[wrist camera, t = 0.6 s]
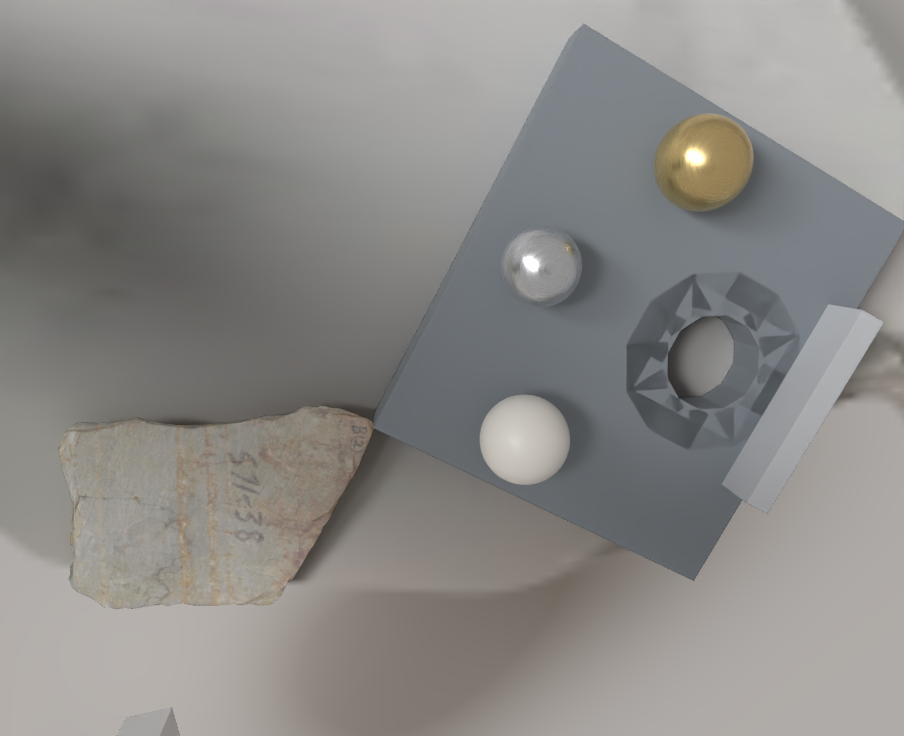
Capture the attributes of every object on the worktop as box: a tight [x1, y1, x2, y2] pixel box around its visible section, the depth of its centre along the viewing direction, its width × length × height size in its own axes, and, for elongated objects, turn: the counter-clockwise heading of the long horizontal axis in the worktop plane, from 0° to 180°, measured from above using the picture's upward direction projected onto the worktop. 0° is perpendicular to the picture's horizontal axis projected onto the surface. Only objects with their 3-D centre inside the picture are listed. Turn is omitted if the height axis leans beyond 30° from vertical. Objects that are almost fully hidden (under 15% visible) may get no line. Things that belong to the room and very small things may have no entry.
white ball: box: [480, 394, 570, 485], centre depth 32 cm, size 4×4×4 cm
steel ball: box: [500, 225, 582, 308], centre depth 31 cm, size 4×4×4 cm
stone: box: [59, 406, 374, 609], centre depth 35 cm, size 15×11×3 cm
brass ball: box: [654, 113, 754, 212], centre depth 31 cm, size 4×4×4 cm
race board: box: [373, 24, 904, 581], centre depth 34 cm, size 18×20×5 cm
